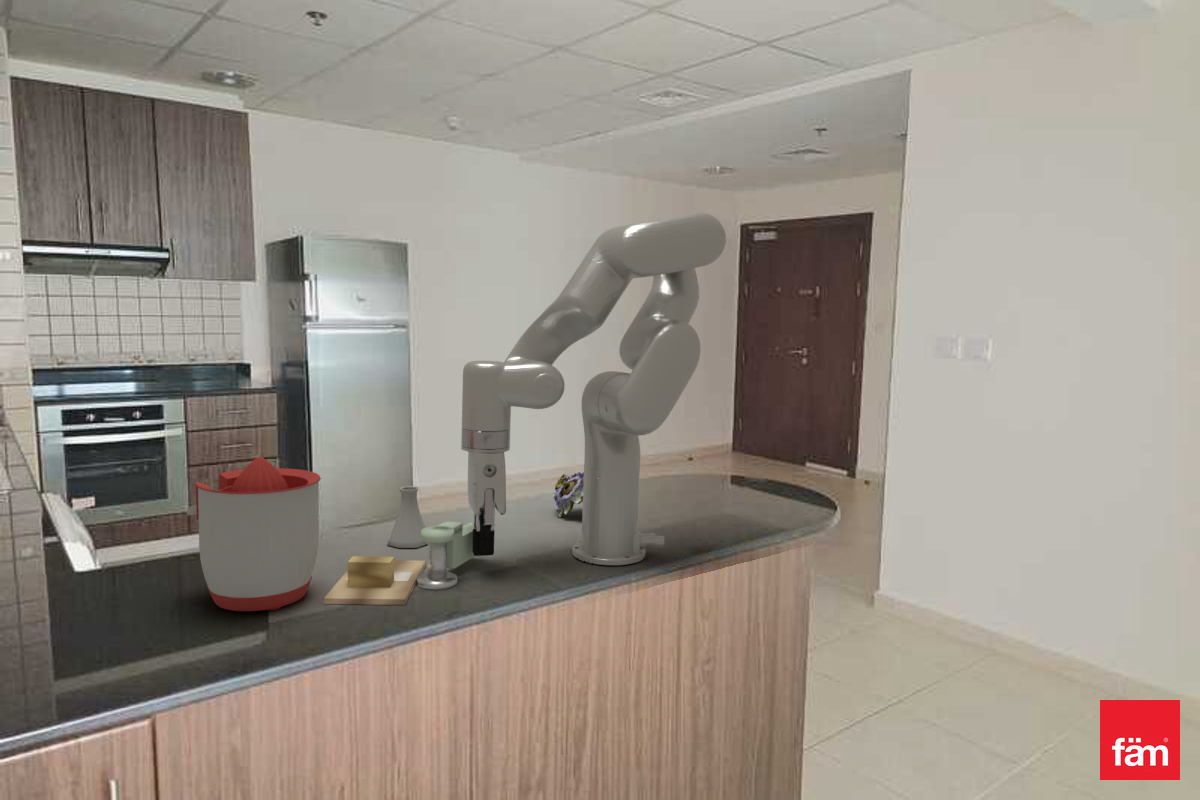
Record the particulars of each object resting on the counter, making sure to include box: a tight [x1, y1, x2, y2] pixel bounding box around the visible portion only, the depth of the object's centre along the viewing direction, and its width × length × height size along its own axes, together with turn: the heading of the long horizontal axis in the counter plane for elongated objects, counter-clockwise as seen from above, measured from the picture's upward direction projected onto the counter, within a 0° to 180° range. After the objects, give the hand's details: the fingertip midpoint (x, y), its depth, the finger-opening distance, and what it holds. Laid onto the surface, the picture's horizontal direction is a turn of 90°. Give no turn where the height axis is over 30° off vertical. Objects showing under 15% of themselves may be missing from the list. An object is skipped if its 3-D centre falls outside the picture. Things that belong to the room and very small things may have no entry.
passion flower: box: [551, 471, 584, 517], centre depth 156 cm, size 11×11×12 cm
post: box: [416, 542, 458, 591], centre depth 114 cm, size 6×6×7 cm
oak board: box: [323, 555, 427, 606], centre depth 113 cm, size 11×17×4 cm, turn 3°
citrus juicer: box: [186, 456, 321, 612], centre depth 104 cm, size 16×17×20 cm
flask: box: [386, 485, 428, 549], centre depth 133 cm, size 7×7×10 cm
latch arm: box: [421, 520, 476, 570], centre depth 118 cm, size 15×5×6 cm, turn 162°
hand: (483, 553), depth 120 cm, fingers closed
